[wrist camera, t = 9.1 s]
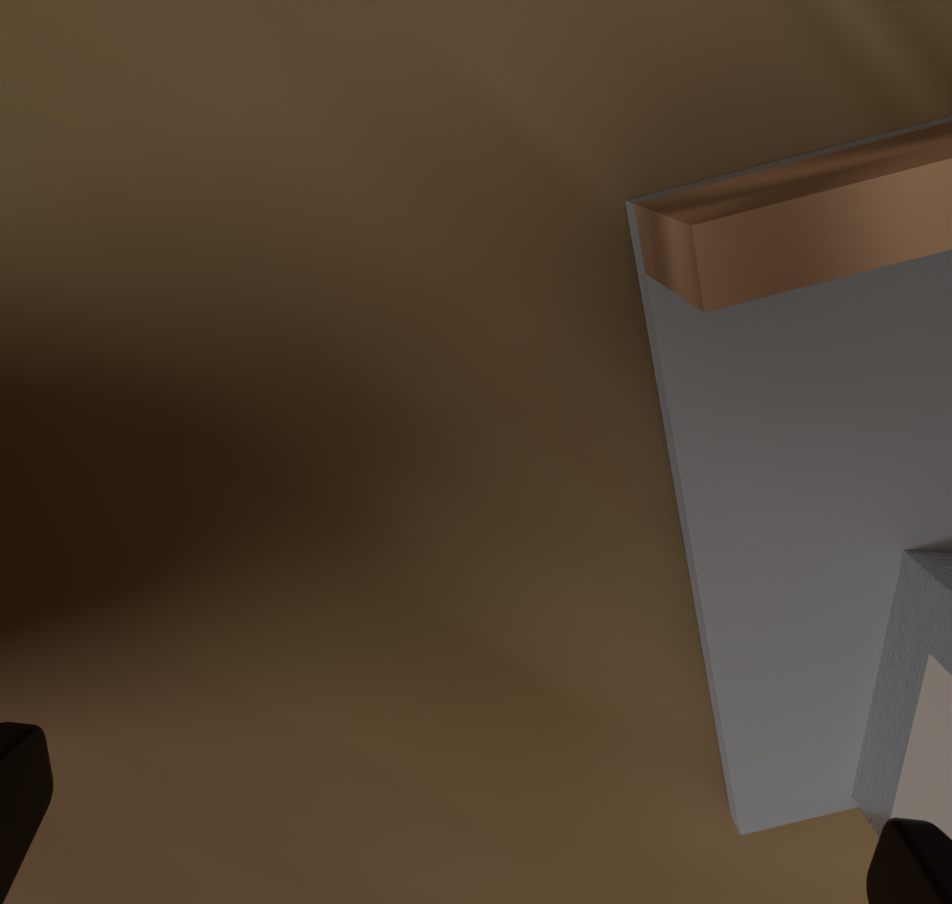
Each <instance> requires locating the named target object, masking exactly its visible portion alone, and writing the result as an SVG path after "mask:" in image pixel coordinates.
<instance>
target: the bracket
mask: <svg viewBox="0 0 952 904" xmlns="http://www.w3.org/2000/svg"><path fill="white" fill-rule="evenodd" d="M852 797H853V798H854V800H855V801H856V803H857V805H858V806H859V808H860V809H861V811H862V812H863V814H864V815H865V817H866V818H867V820H868V822H869V823H870V825H871V826H872V828H873V829H874V831H875V832H876V834H877V835H878V837H880V834H881V832H882V829H883V826H884V824H885V823H886V822H887V821H888V820H889V819H890V818H895V817H898V818H907V819H916V820H925V821H928V822H931V823H933V824H934V825H936V826H937V827H938V828H940V829H941V830H942V831H943V832H944V833H945V834H946V835H947V836H948V837H950V838H951V839H952V549H939V550H903V555H902V559H901V564H900V569H899V574H898V578H897V583H896V588H895V592H894V597H893V602H892V607H891V611H890V616H889V621H888V625H887V630H886V635H885V640H884V644H883V649H882V654H881V658H880V663H879V668H878V672H877V677H876V682H875V687H874V691H873V696H872V701H871V705H870V710H869V715H868V720H867V724H866V729H865V734H864V738H863V743H862V748H861V753H860V757H859V762H858V767H857V771H856V776H855V781H854V785H853V790H852Z"/></svg>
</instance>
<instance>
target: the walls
mask: <svg viewBox="0 0 952 904" xmlns="http://www.w3.org/2000/svg"><path fill="white" fill-rule="evenodd" d="M634 208H635V214H636V220H637V226H638V232H639V238H640V243H641V249H642V255H643V261H644V267H645V273H646V274H647V275H648V276H650V277H651V278H653V279H654V280H656V281H657V282H659V283H660V284H662V285H663V286H665V287H666V288H668V289H669V290H671V291H672V292H674V293H675V294H677V295H678V296H680V297H681V298H683V299H684V300H686V301H687V302H689V303H691V304H692V305H694V306H695V307H697V308H698V309H700V310H701V311H703V312H704V313H705V312H709V311H712V310H716V309H720V308H724V307H728V306H732V305H736V304H740V303H744V302H748V301H752V300H755V299H759V298H763V297H767V296H771V295H775V294H779V293H783V292H787V291H791V290H794V289H798V288H802V287H806V286H810V285H814V284H818V283H822V282H826V281H830V280H834V279H837V278H841V277H845V276H849V275H853V274H857V273H861V272H865V271H869V270H873V269H877V268H880V267H884V266H888V265H892V264H896V263H900V262H904V261H908V260H912V259H916V258H920V257H923V256H927V255H931V254H935V253H939V252H943V251H947V250H951V249H952V121H950V122H946V123H942V124H939V125H935V126H931V127H927V128H923V129H919V130H916V131H912V132H908V133H904V134H900V135H896V136H892V137H889V138H885V139H881V140H877V141H873V142H869V143H866V144H862V145H858V146H854V147H850V148H846V149H842V150H839V151H835V152H831V153H827V154H823V155H819V156H816V157H812V158H808V159H804V160H800V161H796V162H792V163H789V164H785V165H781V166H777V167H773V168H769V169H766V170H762V171H758V172H754V173H750V174H746V175H742V176H739V177H735V178H731V179H727V180H723V181H719V182H716V183H712V184H708V185H704V186H700V187H696V188H692V189H689V190H685V191H681V192H677V193H673V194H669V195H666V196H662V197H658V198H654V199H650V200H646V201H642V202H639V203H635V204H634Z"/></svg>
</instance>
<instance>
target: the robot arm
mask: <svg viewBox="0 0 952 904" xmlns="http://www.w3.org/2000/svg"><path fill="white" fill-rule="evenodd" d="M52 793H53V776H52V771H51V765H50V759H49V754H48V748H47V742H46V737H45V733H44V731H43V730H42V729H41V728H40V727H39V726H37V725H33V724H24V723H15V722H2V723H0V904H3V903H4V900H5V898H6V896H7V894H8V892H9V890H10V888H11V885H12V883H13V881H14V879H15V877H16V875H17V873H18V871H19V868H20V866H21V864H22V862H23V860H24V858H25V856H26V854H27V851H28V849H29V847H30V845H31V843H32V841H33V839H34V836H35V834H36V832H37V830H38V828H39V826H40V824H41V822H42V819H43V817H44V815H45V813H46V811H47V809H48V806H49V804H50V801H51V798H52ZM866 888H867V897H868V902H869V904H952V839H951V838H950V837H948V836H947V835H946V834H945V833H944V832H943V831H942V830H941V829H940V828H938V827H937V826H936V825H934V824H933V823H931V822H928V821H925V820H916V819H907V818H898V817H895V818H890V819H889V820H888V821H887V822H886V823H885V824H884V826H883V829H882V832H881V834H880V837H879V840H878V843H877V846H876V849H875V852H874V855H873V858H872V861H871V864H870V867H869V870H868V874H867V887H866Z"/></svg>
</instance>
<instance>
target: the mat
mask: <svg viewBox="0 0 952 904" xmlns="http://www.w3.org/2000/svg"><path fill="white" fill-rule="evenodd" d="M950 121H952V116H948V117H944V118H940V119H936V120H932V121H928V122H925V123H921V124H917V125H913V126H909V127H905V128H902V129H898V130H894V131H890V132H886V133H882V134H879V135H875V136H871V137H867V138H863V139H859V140H855V141H852V142H848V143H844V144H840V145H836V146H832V147H829V148H825V149H821V150H817V151H813V152H809V153H805V154H802V155H798V156H794V157H790V158H786V159H782V160H779V161H775V162H771V163H767V164H763V165H759V166H756V167H752V168H748V169H744V170H740V171H736V172H732V173H729V174H725V175H721V176H717V177H713V178H709V179H706V180H702V181H698V182H694V183H690V184H686V185H682V186H679V187H675V188H671V189H667V190H663V191H659V192H656V193H652V194H648V195H644V196H640V197H636V198H632V199H629V200H625V203H626V209H627V215H628V221H629V226H630V232H631V238H632V244H633V250H634V255H635V261H636V267H637V273H638V279H639V285H640V290H641V296H642V302H643V308H644V314H645V319H646V325H647V331H648V337H649V343H650V348H651V354H652V360H653V366H654V372H655V378H656V383H657V389H658V395H659V401H660V407H661V412H662V418H663V424H664V430H665V436H666V441H667V447H668V453H669V459H670V465H671V470H672V476H673V482H674V488H675V494H676V500H677V505H678V511H679V517H680V523H681V529H682V534H683V540H684V546H685V552H686V558H687V563H688V569H689V575H690V581H691V587H692V593H693V598H694V604H695V610H696V616H697V622H698V627H699V633H700V639H701V645H702V651H703V656H704V662H705V668H706V674H707V680H708V686H709V691H710V697H711V703H712V709H713V715H714V720H715V726H716V732H717V738H718V744H719V749H720V755H721V761H722V767H723V773H724V779H725V784H726V790H727V796H728V802H729V808H730V813H731V816H732V818H733V820H734V823H735V825H736V827H737V829H738V831H739V834H740V835H743V834H748V833H752V832H756V831H760V830H764V829H769V828H773V827H777V826H781V825H785V824H790V823H794V822H798V821H802V820H806V819H810V818H815V817H819V816H823V815H827V814H831V813H836V812H840V811H844V810H848V809H852V808H857V807H859V806H858V805H857V803H856V801H855V800H854V798H853V797H852V790H853V785H854V781H855V776H856V771H857V767H858V762H859V757H860V753H861V748H862V743H863V738H864V734H865V729H866V724H867V720H868V715H869V710H870V705H871V701H872V696H873V691H874V687H875V682H876V677H877V672H878V668H879V663H880V658H881V654H882V649H883V644H884V640H885V635H886V630H887V625H888V621H889V616H890V611H891V607H892V602H893V597H894V592H895V588H896V583H897V578H898V574H899V569H900V564H901V559H902V555H903V550H939V549H952V249H951V250H947V251H943V252H939V253H935V254H931V255H927V256H923V257H920V258H916V259H912V260H908V261H904V262H900V263H896V264H892V265H888V266H884V267H880V268H877V269H873V270H869V271H865V272H861V273H857V274H853V275H849V276H845V277H841V278H837V279H834V280H830V281H826V282H822V283H818V284H814V285H810V286H806V287H802V288H798V289H794V290H791V291H787V292H783V293H779V294H775V295H771V296H767V297H763V298H759V299H755V300H752V301H748V302H744V303H740V304H736V305H732V306H728V307H724V308H720V309H716V310H712V311H709V312H705V313H704V312H703V311H701V310H700V309H698V308H697V307H695V306H694V305H692V304H691V303H689V302H687V301H686V300H684V299H683V298H681V297H680V296H678V295H677V294H675V293H674V292H672V291H671V290H669V289H668V288H666V287H665V286H663V285H662V284H660V283H659V282H657V281H656V280H654V279H653V278H651V277H650V276H648V275H647V274H646V273H645V267H644V261H643V255H642V249H641V243H640V238H639V232H638V226H637V220H636V214H635V208H634V204H635V203H639V202H642V201H646V200H650V199H654V198H658V197H662V196H666V195H669V194H673V193H677V192H681V191H685V190H689V189H692V188H696V187H700V186H704V185H708V184H712V183H716V182H719V181H723V180H727V179H731V178H735V177H739V176H742V175H746V174H750V173H754V172H758V171H762V170H766V169H769V168H773V167H777V166H781V165H785V164H789V163H792V162H796V161H800V160H804V159H808V158H812V157H816V156H819V155H823V154H827V153H831V152H835V151H839V150H842V149H846V148H850V147H854V146H858V145H862V144H866V143H869V142H873V141H877V140H881V139H885V138H889V137H892V136H896V135H900V134H904V133H908V132H912V131H916V130H919V129H923V128H927V127H931V126H935V125H939V124H942V123H946V122H950Z"/></svg>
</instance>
